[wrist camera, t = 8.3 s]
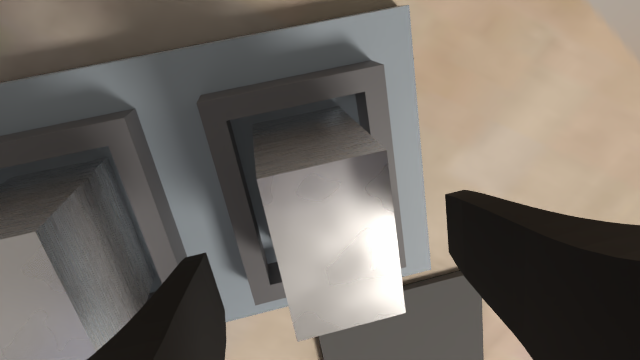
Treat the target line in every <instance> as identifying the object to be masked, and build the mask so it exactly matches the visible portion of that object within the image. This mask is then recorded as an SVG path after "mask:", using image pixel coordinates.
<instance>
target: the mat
mask: <svg viewBox="0 0 640 360" xmlns="http://www.w3.org/2000/svg"><path fill="white" fill-rule="evenodd" d="M403 293H404V302H405V310H406V313H404V314H400V315H396V316H392V317H389V318H385V319H381V320H377V321H374V322H370V323H366V324H362V325H358V326H355V327H351V328H347V329H343V330H340V331H336V332H332V333H328V334H325V335H321V336H319V340H320V345H321V349H322V354H323V358H324V360H483V324H482V297H481V296H480V295H479V293H478V292H477V291H476V290H475V289H474V288H473V286H472V285H471V284H470V283H469V282H468V281H467V279H466V278H465V277H464V275H463V274H462V272H461V271H458V272H454V273H450V274H446V275H443V276H439V277H435V278H431V279H427V280H423V281H419V282H416V283H412V284H408V285H404V286H403Z"/></svg>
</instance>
